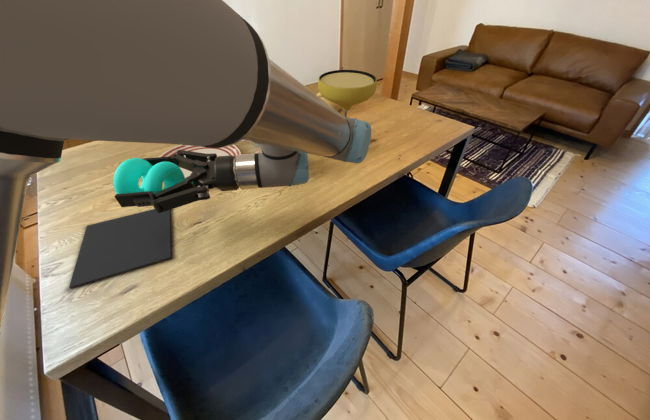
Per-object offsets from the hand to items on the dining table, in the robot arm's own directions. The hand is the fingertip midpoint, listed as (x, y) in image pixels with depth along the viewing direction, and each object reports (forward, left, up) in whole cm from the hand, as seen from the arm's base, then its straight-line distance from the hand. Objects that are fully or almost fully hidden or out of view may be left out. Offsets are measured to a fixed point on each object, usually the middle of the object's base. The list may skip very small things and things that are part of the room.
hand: (131, 181), depth 57 cm
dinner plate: (+11, +31, -18) cm, 37 cm away
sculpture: (+70, +56, -18) cm, 91 cm away
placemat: (-9, +3, -18) cm, 20 cm away
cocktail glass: (+60, +21, -18) cm, 66 cm away
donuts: (+4, -1, -6) cm, 7 cm away
